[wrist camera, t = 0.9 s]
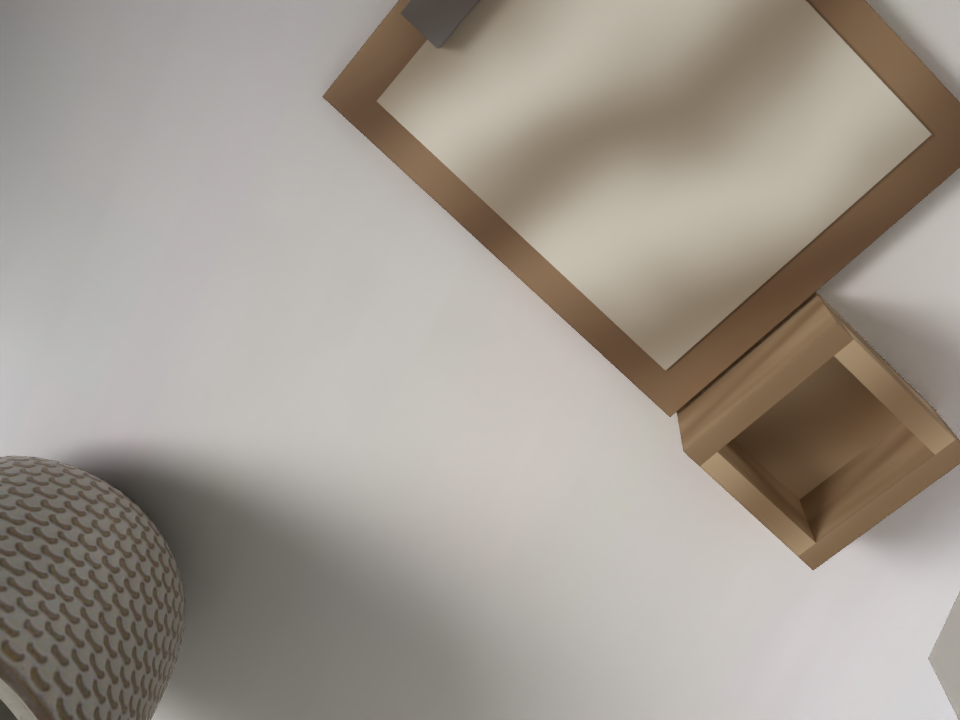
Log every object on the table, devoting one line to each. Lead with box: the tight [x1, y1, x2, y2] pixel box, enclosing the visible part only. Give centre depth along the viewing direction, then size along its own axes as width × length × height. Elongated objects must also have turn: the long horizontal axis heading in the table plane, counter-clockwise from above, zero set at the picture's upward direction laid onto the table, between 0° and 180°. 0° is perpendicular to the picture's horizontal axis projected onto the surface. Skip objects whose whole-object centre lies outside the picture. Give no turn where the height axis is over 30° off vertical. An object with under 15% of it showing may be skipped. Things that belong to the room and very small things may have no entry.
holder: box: [677, 292, 960, 570], centre depth 33 cm, size 7×7×3 cm
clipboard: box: [322, 0, 960, 417], centre depth 30 cm, size 17×14×1 cm
